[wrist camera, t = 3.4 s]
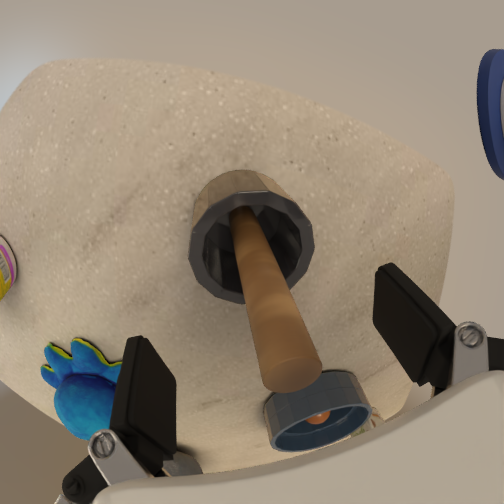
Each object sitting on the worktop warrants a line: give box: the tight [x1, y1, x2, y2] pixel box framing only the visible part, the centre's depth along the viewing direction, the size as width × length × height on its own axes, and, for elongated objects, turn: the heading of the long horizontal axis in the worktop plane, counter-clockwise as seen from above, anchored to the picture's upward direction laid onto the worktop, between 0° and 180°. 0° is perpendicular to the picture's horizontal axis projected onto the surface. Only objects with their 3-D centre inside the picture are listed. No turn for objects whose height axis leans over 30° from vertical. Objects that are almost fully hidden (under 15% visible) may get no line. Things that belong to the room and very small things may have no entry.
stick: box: [229, 206, 322, 393], centre depth 14 cm, size 2×2×14 cm
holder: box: [188, 170, 315, 304], centre depth 18 cm, size 7×7×6 cm
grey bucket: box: [163, 451, 203, 477], centre depth 33 cm, size 18×18×15 cm
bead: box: [305, 411, 331, 424], centre depth 32 cm, size 4×4×4 cm
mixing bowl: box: [263, 371, 373, 452], centre depth 32 cm, size 14×14×6 cm
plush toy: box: [41, 338, 122, 440], centre depth 24 cm, size 17×17×8 cm
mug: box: [351, 408, 386, 438], centre depth 37 cm, size 8×13×10 cm, turn 25°
